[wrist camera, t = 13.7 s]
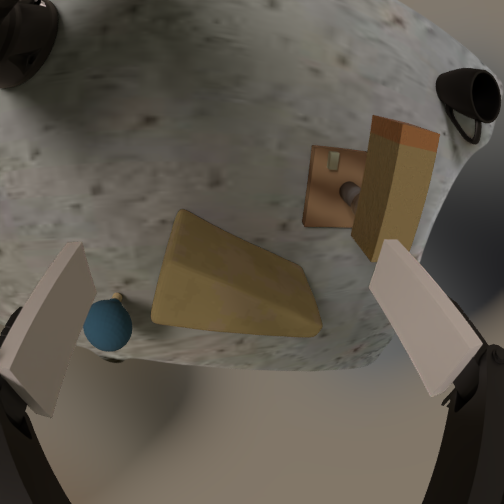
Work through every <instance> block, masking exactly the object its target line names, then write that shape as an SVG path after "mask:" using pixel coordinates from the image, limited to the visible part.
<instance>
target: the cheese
mask: <svg viewBox="0 0 504 504" xmlns="http://www.w3.org/2000/svg"><path fill="white" fill-rule="evenodd" d="M151 319H152V321H153V322H154V323H156V324H162V325H169V326H177V327H185V328H192V329H200V330H208V331H218V332H230V333H242V334H255V335H270V336H287V337H314V336H316V335H317V334H318V333H319V331H320V330H321V329H322V321H321V318H320V314H319V311H318V307H317V304H316V301H315V298H314V296H313V293H312V291H311V289H310V286H309V284H308V282H307V279H306V277H305V274H304V272H303V269H302V268H301V267H300V266H299V265H297V264H295V263H293V262H290V261H288V260H286V259H284V258H282V257H280V256H277V255H275V254H273V253H271V252H269V251H266V250H264V249H262V248H260V247H257V246H255V245H253V244H251V243H249V242H246V241H244V240H242V239H240V238H238V237H236V236H234V235H232V234H230V233H228V232H226V231H224V230H222V229H220V228H218V227H216V226H214V225H212V224H210V223H208V222H207V221H205V220H203V219H201V218H199V217H197V216H196V215H194V214H192V213H190V212H189V211H187V210H184V209H181V210H180V211H179V212H178V213H177V216H176V218H175V221H174V224H173V227H172V231H171V234H170V238H169V241H168V245H167V248H166V252H165V256H164V260H163V263H162V267H161V271H160V275H159V279H158V283H157V287H156V292H155V296H154V300H153V304H152V310H151Z"/></svg>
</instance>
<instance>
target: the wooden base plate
mask: <svg viewBox="0 0 504 504" xmlns="http://www.w3.org/2000/svg"><path fill="white" fill-rule="evenodd" d="M366 157H367V152H366V151H359V150H352V149H344V148H335V147H326V146H316V145H312V150H311V158H310V167H309V175H308V183H307V190H306V198H305V205H304V212H303V219H302V223H303V225H304V226H305V227H353V223H354V219H355V215H354V214H353V212H352V210H351V202H352V200H353V198H354V197H355V196H356V195H357V194H359V193H360V190H361V185H362V180H363V174H364V169H365V163H366Z"/></svg>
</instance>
